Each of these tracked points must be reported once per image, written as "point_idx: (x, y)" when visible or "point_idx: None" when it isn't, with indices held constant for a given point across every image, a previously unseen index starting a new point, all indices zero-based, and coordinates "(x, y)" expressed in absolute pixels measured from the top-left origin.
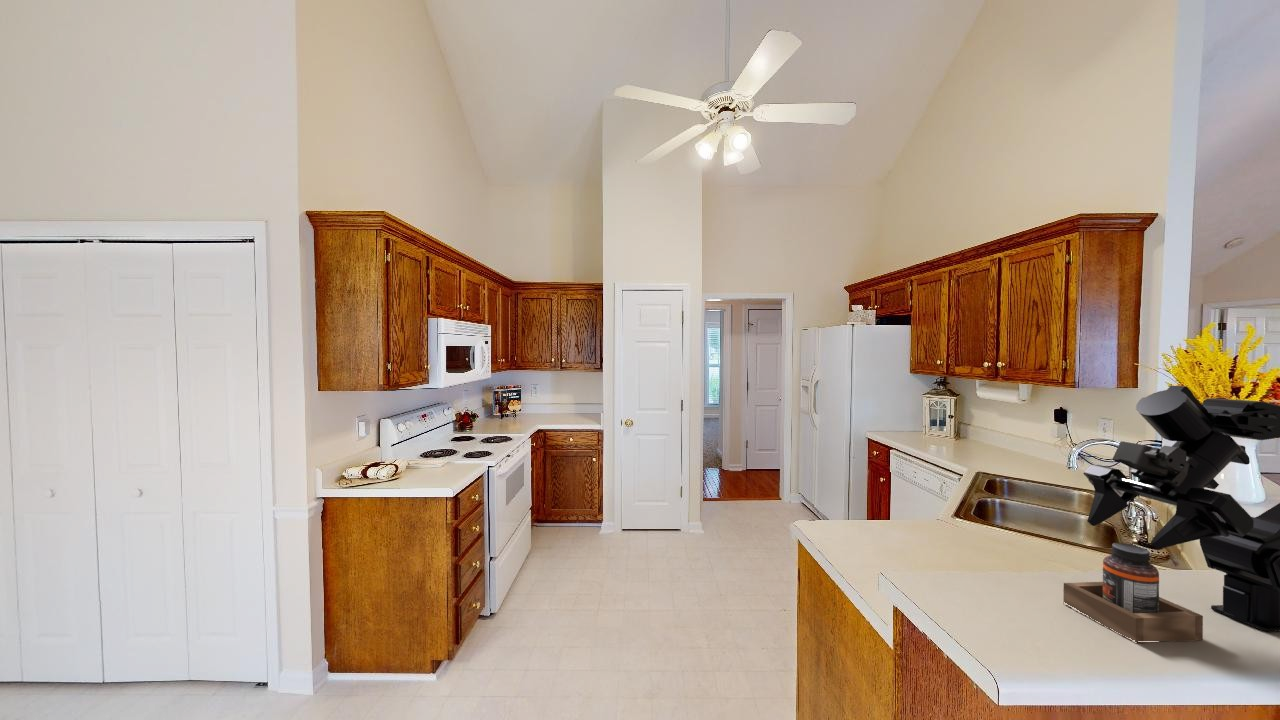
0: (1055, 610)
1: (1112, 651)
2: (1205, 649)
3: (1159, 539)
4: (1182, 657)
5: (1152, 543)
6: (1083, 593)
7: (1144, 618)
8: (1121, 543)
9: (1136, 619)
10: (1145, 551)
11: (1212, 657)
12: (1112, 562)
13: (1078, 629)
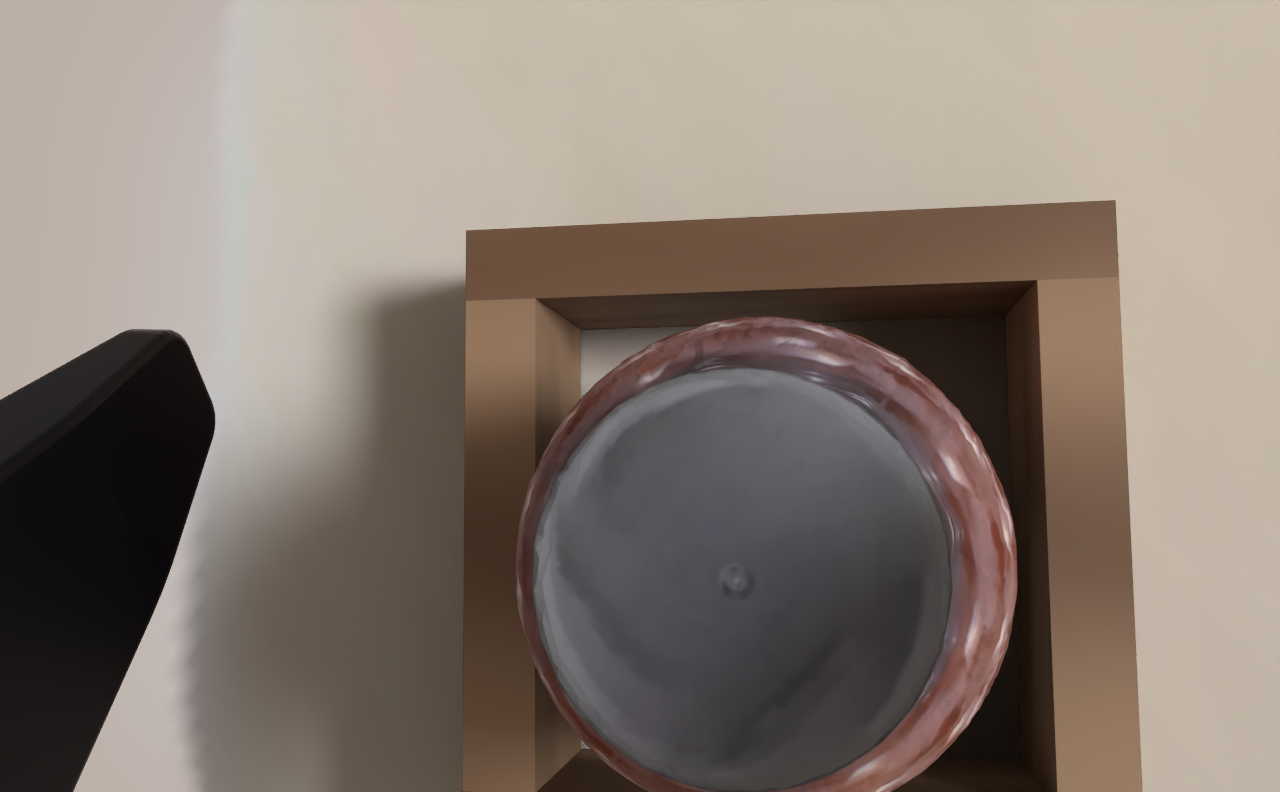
0: (979, 97)
1: (454, 23)
2: (425, 690)
3: (25, 386)
4: (362, 417)
5: (139, 329)
6: (903, 210)
7: (466, 308)
8: (903, 614)
9: (467, 237)
10: (584, 653)
11: (346, 622)
12: (776, 336)
13: (707, 34)
